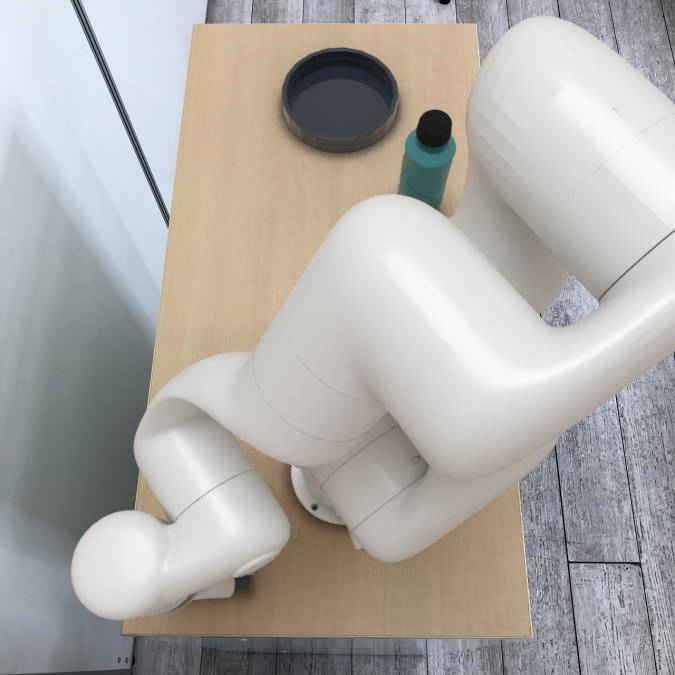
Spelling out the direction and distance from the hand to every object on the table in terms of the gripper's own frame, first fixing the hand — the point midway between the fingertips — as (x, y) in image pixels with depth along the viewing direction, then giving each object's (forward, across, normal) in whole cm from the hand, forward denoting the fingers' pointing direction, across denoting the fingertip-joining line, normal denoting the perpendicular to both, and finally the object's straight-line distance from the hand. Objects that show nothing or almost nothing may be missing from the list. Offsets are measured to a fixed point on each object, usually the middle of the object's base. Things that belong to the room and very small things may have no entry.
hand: (201, 570), depth 72 cm
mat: (+2, +2, +1) cm, 3 cm away
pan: (+1, +16, +67) cm, 69 cm away
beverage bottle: (+1, +27, +48) cm, 55 cm away
